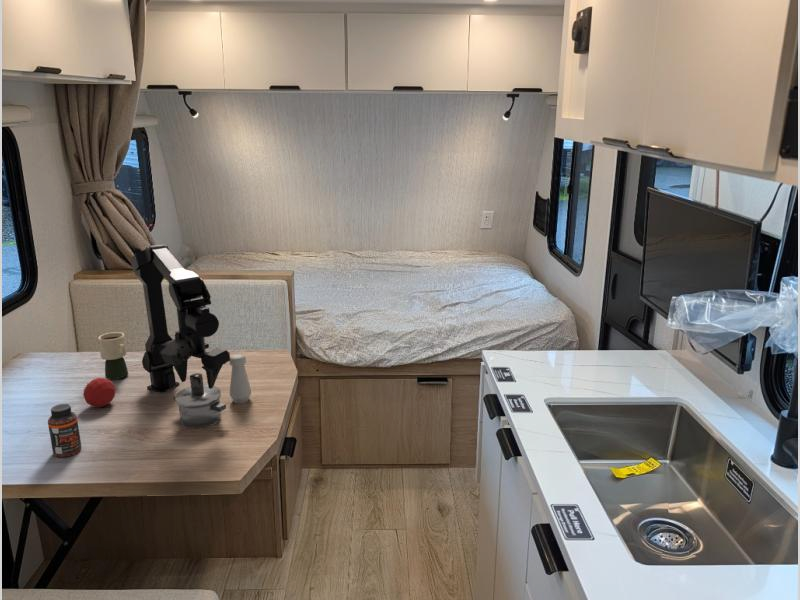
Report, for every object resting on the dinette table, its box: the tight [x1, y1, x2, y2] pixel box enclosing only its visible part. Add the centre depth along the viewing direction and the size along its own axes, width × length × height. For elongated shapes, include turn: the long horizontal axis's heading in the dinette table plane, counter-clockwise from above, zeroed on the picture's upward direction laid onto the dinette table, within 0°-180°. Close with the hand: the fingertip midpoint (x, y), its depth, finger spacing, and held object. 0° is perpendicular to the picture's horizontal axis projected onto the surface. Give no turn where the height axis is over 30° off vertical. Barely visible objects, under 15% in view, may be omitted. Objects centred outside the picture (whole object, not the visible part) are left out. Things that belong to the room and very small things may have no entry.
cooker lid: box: [174, 373, 222, 407], centre depth 157 cm, size 11×11×6 cm
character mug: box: [97, 331, 129, 380], centre depth 183 cm, size 11×7×13 cm, turn 59°
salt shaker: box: [229, 353, 252, 404], centre depth 168 cm, size 6×6×13 cm
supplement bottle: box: [47, 403, 82, 458], centre depth 142 cm, size 6×6×11 cm
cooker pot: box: [172, 392, 227, 429], centre depth 158 cm, size 16×10×6 cm, turn 63°
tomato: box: [82, 377, 117, 408], centre depth 166 cm, size 8×8×8 cm
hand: (197, 384), depth 157 cm, fingers open, 9 cm apart
